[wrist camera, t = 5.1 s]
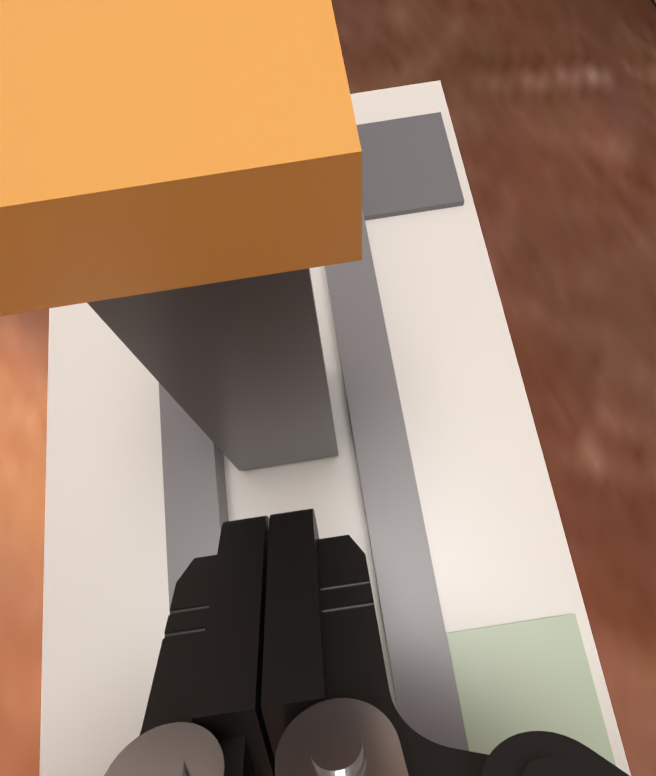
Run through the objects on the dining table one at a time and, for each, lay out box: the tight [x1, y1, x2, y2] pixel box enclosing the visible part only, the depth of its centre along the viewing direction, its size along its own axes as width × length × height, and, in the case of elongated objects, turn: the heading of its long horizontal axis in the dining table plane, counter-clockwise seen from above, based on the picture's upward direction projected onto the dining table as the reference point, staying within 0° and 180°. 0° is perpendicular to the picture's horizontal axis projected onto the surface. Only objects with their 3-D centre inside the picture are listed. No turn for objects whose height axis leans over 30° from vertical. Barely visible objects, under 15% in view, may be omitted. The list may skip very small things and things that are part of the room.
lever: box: [0, 0, 362, 470], centre depth 10 cm, size 3×3×11 cm
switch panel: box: [40, 80, 631, 776], centre depth 15 cm, size 12×20×2 cm, turn 8°
